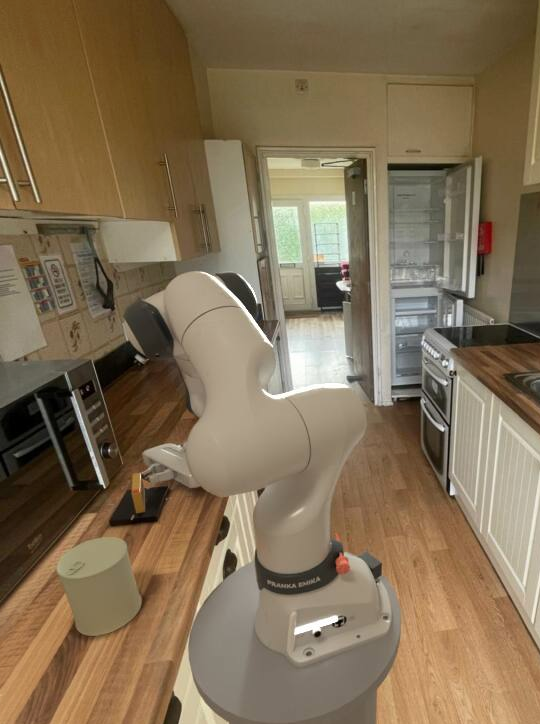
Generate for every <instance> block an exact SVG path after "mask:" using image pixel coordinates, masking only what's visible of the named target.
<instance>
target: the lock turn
mask: <svg viewBox="0 0 540 724" xmlns="http://www.w3.org/2000/svg"><path fill="white" fill-rule="evenodd" d="M141 473H142V472H136V473H132V480H131V489H132V498H133V502H134V506H135V510H136V513H141V512H145V490H144V488H145V486H144V481H143V479H142V477H141Z"/></svg>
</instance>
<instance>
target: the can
mask: <svg viewBox="0 0 540 724" xmlns="http://www.w3.org/2000/svg"><path fill="white" fill-rule="evenodd" d="M55 571H56V574H57V575H58V578H59V580H60V582H61V585H62V588H63V590H64V593H65V595H66V599H67V602H68V604H69V607H70V610H71V612H72V615H73V619H74V625H75V628H76V630H77V631H78V632H79V633H80V634H82V635H84V636H88V637H98V636H103V635H107V634H110V633H113V632H115V631H118V630H119V629H121V628H123V627H125V626H126V625H127V624H128V623H130V621H132V620H133V619H134V618H135V617H136V615H137V614H138V613H139V611H140V610H141V607H142V603H143V599H142V597H141V594H140V592H139V589H138V586H137V582H136V578H135V575H134V571H133V568H132V563H131V559H130V555H129V551H128V544H127V543H126V541H125V540H124V539H122V538H120V537H116V536H102V537H98V538H93V539H89V540H87V541H84V542H81V543H79V544H77V545H75V546H74V547H72V548H71V549H69V550H68V551H66V552H65V553H64V554H63V555H62V556H61V557H60V558H59V559H58V561H57V563H56V566H55Z"/></svg>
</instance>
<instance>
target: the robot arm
mask: <svg viewBox="0 0 540 724" xmlns="http://www.w3.org/2000/svg"><path fill="white" fill-rule="evenodd" d="M259 313H260V311H259V306H258V300H257V296H256V294H255V292H254V290H253V288H252V287H251V285H250V284H249V283H248V281H247V280H246V279H245V278H244V277H243V276H242V275H240V274H239V273H237V272H235V271H222V272H216V273H215V274H214V275H212V274H209V273H207V272H204V271H198V270H194V271H193V270H192V271H187V272H183V273H181V274H179V275H176V277H174V278H173V279H172V280H170V282H169V283H168V284H167V285H166V287H165V289H163V290H160V291H158V292H157V293H154V294H152V295H151V296H149V297H146V298H144V299H142V298H139V299H137V300H135V301H134V302H132V303H131V304H130V305H128V306H127V307H125V310H124V313H123V314H122V317H123V319H124V322H123V323H124V324H123V325H124V331H125V334H126V337H127V339H128V340H129V343H130V344H131V345H132V346H133V348H134V349H136V351H138V352H139V353H140V354H142V355H143V356H144V357H145V358H146V359H148V360H151V361H153V362H163V361H169V360H172V359H175V360H174V361H175V364H176V367H177V370H178V373H179V375H180V378H181V381H182V383H183V385H184V389H185V406H186V409H187V411H188V412H189V413H191V414H192V415H194V416H195V417H197V418H198V420H197V422H195V423H194V425H193V426H192V428H191V430H190V431H189V433H188V436H187V440H186V441H184V443H183V445H182V446H181V445H180V444H175V443H164V444H160V445H156V446H154V447H151V448H147V449H146V450H144V451H143V452H142V453H141V456H142V460H143V464H144V465H145V466H146V467H148V468H147V469H146V470H143V471H142V472H140V473H141V477H142V480H144V481H147V482H148V483H149V484H151V485H154V484H156V483H158V482H165V481H170V480H174V481H175V482H178V483H179V484H182V485H184V486H186V487H188V488H189V489H197V488H199V487H201V488H202V489H203V490H204V491H206V492H207V493H209V494H211V495H213V496H216V497H218V498H227V497H233V496H238V495H242V494H246V493H252V492H255V491H259V490H262V489H264V488H265V489H264V490H263V492H261V494H260V496H259V497H258V498H257V500H256V502H255V505H254V507H253V512H252V524H253V533H254V540H255V550H254V558H253V561H254V567H255V575H256V582H257V583H258V588H259V602H258V609H257V613H256V616H255V622H254V626H255V632H256V634H257V637H258V638H259V640H260V641H261V642H262V643H263V644H264V645H265V646H266V647H267V648H269V649H271V650H273V651H275V652H277V653H280V654H282V655H284V656H286V657H287V659H288V660H289V661H290V662H291V663H292V664H293V665H294V666H296V667H299V668H302V667H306V666H308V665H311V664H314V663H316V662H319V661H322V660H324V659H327V658H330V657H333V656H335V655H338V654H341V653H343V652H346V651H349V650H351V649H354V648H357V647H360V646H362V645H365V644H368V643H370V642H373V641H376V640H378V639H381V638H384V637H386V636H387V635H388V634H389V632H390V629H391V625H392V609H391V603H390V599H389V596H388V593H387V591H386V588H385V586H384V585H383V583H382V581H381V580H380V579H379V578H378V577H380V576H381V575H382V574H383V573H382V572H383V563H382V561H380V560H378V558H376V557H375V556H373V555H372V554H371V553H370V552H368V550H365V551H364V552H362V553H361V554H359V555H357V556H358V557H355V556H356V555H355V556H352V555H349V554H346V553H344V552H345V551H344V545H343V543H342V542H341V541H340V536H339V534H338V533H337V532H335V538H334V537H332V536H331V507H332V501H333V497H334V493H335V489H336V487H337V484H338V481H339V478H340V475H341V473H342V471H343V469H344V466H345V464H346V462H347V460H348V458H349V457H350V454H351V453H352V451H353V450H354V449H355V447H356V446H357V444H359V442H360V441H361V440H362V439H363V437H364V436H365V433H366V431H367V426H368V425H367V424H368V421H367V420H368V417H367V412H366V407H365V405H364V403H363V400H362V399H361V397H360V396H359V395H358V394H357V393H356V391H355V390H353V388H351V387H350V386H348V385H346V384H344V383H343V384H342V383H321V384H311V385H308V386H305V387H301V388H297V389H294V390H290V391H285V392H283V393H278V394H273V395H272V394H270V393H269V392H267V391H266V390H265V389H264V387H266V385H267V384H268V383H269V382H270V381H271V378H272V377H273V375H274V373H275V371H276V367H277V354H276V351H275V348H274V346H273V344H272V343H271V342H270V340H269V339H268V338H267V335H265V333H264V332H263V331H262V329H261V328H260V326H259V325H258V323H257V320H258V316H259ZM376 583H377V584H376ZM384 619H387V620H384ZM307 655H311V656H307Z"/></svg>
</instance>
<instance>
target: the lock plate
mask: <svg viewBox="0 0 540 724" xmlns="http://www.w3.org/2000/svg"><path fill="white" fill-rule="evenodd" d="M144 490H145V512H141V513H136V510H135V506H134V502H133V498H132V488H130V489H126V491H125V493H124V494H123V496H122V498H121V499H120V501H119V502H118V504H117V506H116V508H115V510H114V511H113V513H112V515H111V516H110V518H109V520H108V523H109V525H110V527H119V526H127V525H136V524H144V523H145V524H146V523H155V522H156V523H157V522H159V521H158V520H159V518H160V515H161V513H162V511H163V508H164V506H165V504H166V501H170V500H174V497H169V494H170V491H171V489H170V486H169V485H163V486H162V485H161V486H153V487H152V486H151V487H150V485H147V487H144ZM115 505H116V503H107V507H109V506H110V507H111V506H115Z"/></svg>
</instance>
